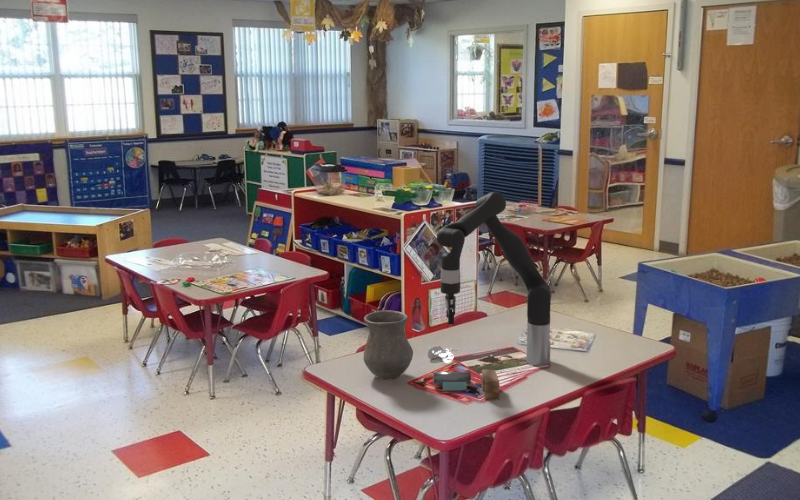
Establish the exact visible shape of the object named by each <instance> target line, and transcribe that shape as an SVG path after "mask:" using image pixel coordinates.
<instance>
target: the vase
mask: <svg viewBox="0 0 800 500" xmlns="http://www.w3.org/2000/svg"><path fill="white" fill-rule="evenodd" d="M408 318H409V316H408V315H407V314H406V313H405V312H402V311H396V310H390V309H389V310H388V309H387V310H385V309H384V310H383V309H382V310H378V311H377V310H376V311H374V312H373V311H372V312H370V313H368V314H366V315H365V316H364V317H363V321H364V323H366V325H367V327H368V329H369V333H368V335H367V339H366V343H365V346H364V351H363V362H364V364H365V366H366V368H367V369H368V370H369V371H370V372H371V374H372V375H373V376H375V377H377V379H380V380H386V381H387V380H388V381H391V380H396V379H398V378H399V377H401V376H402V375H403V374H405V372H406V370H407V369H408V368H409V367H410V365H411V362H412V360H413V356H414V349H413V348H412V346H411V344H410V342H409V340H408V337H407V335H406V331H405V330H406V325H407V321H408Z"/></svg>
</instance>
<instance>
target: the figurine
mask: <svg viewBox="0 0 800 500" xmlns="http://www.w3.org/2000/svg"><path fill="white" fill-rule="evenodd" d="M456 351H458V349H453V348H445V349H444V348H443V347H442V346H441V345H437V346H431V347H430V348H429V349H428V352H427V357H428V359H430V360H434V359H437V358H439V359H441V362H442V363H443V362H444V363H446V364H449V363H451V362H452V361H453V360H454V357H455V355H454V354H453V353H452V352H456Z"/></svg>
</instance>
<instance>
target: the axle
mask: <svg viewBox="0 0 800 500" xmlns="http://www.w3.org/2000/svg"><path fill="white" fill-rule="evenodd" d="M471 376H472V374H471V371H433V375H432V381H433V384H432V385H433V386H442V385H443V382H465V381H466V382H467V385H471V383H472V382H471V380H472V377H471Z"/></svg>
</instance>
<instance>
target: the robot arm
mask: <svg viewBox="0 0 800 500" xmlns="http://www.w3.org/2000/svg"><path fill="white" fill-rule="evenodd" d="M506 207H507V200H506V198H505V196H504V195H503V193H501V192H499V191H490V192H489V193H487V194H485V195H483V196H481V197H479V198H478V199H477V200H476V201H475V208H474V209H473V210H471V211H469V212H468V213H466V214H465V215H463V216H462V217H460V218H458V220H457V221H455V222H453V223H450V224H447V225H445V226H443V227H442V228H440V229H439V231H437V233H436V242H437V244H439V245H440V246H441V247H445V248H446V247H447V248H451V250H450V251H449V252H444V253H442V255H441V259H440V260H441V262H440V263H441V265H440V266H441V267H440V268H441V269H440V270H441V271H440V292H441V293H442V294H445V295H444V303H445V308H446V314H445V315H446V318H447V324H448V325H454V324H455V315H456V309H457V306H456V303H457V302H456V301H457V297H456V296H455V295H457V294H459V293H461V270H460V269H461V266H460V265H461V255H462V251H463V248H464V244H465V240H466V238H467V237H468V236H469V235H471V234H472V233H474V231H476V230H477V229H478V228H479V227H480V226H481V225H482V224H485V225H486V227H487V228H488V229H489V231H490V233H491V234H492V236H493V238H494V239H495V241H496V242H497V244H498V245H499V248H500V249H501V251H502V253H503V255H504V257H505V259H506V260H507V262H508V263H509V265H510V266H511V267H512V268H513V270H514V271H515V272H516V273H517V274H518V276H519V277H520V278H521V280H522V281H523V283H524V285H525V288H526V289H527V292H528V293H527V300H526V301H527V308H526V313H527V314H526V317H527V325H526V327H527V328H526V335H527V336H526V356H525V357H526V358H525V359H526V360H525V361H526V363H527V364H529V365H532V366H539V367H541V366H546V365H550V364H551V340H550V336H551V335H550V332H551V304H552V303H551V300H552V290H551V288H550V287H549V285H548V283H547V282H546V281H545V279H544V278H543V277H542V275H541V274H540V272H539V271H538V269H537V266H536V265H535V263H534V260H533V258H532V256H531V254H530V252H529V250H528V248H527V246H526V244H525V243H524V241H523V239H522V237H520V236H519V235H518V234H517V233H515V232H513V230H511V229H509V228H508V227H507V226H505V225H504V224H503V223H502V222H501V220H500V219H499V218H498V215H500V214H502V212H504V211H505V209H506Z"/></svg>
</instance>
